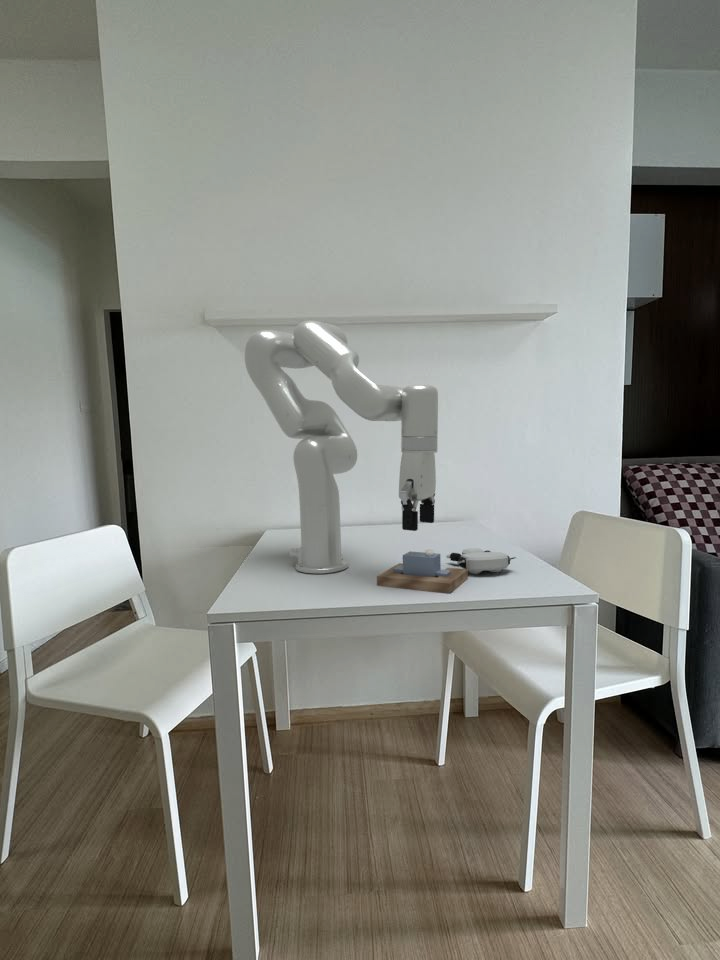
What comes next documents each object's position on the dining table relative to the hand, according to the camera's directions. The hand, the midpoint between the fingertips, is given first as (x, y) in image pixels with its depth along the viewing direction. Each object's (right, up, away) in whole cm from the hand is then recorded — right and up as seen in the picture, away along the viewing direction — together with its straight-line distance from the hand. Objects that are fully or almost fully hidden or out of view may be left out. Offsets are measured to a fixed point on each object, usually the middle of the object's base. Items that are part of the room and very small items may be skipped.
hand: (418, 526), depth 117 cm
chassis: (+1, -12, +1) cm, 12 cm away
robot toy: (+15, -11, +10) cm, 21 cm away
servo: (+1, -12, +1) cm, 12 cm away
